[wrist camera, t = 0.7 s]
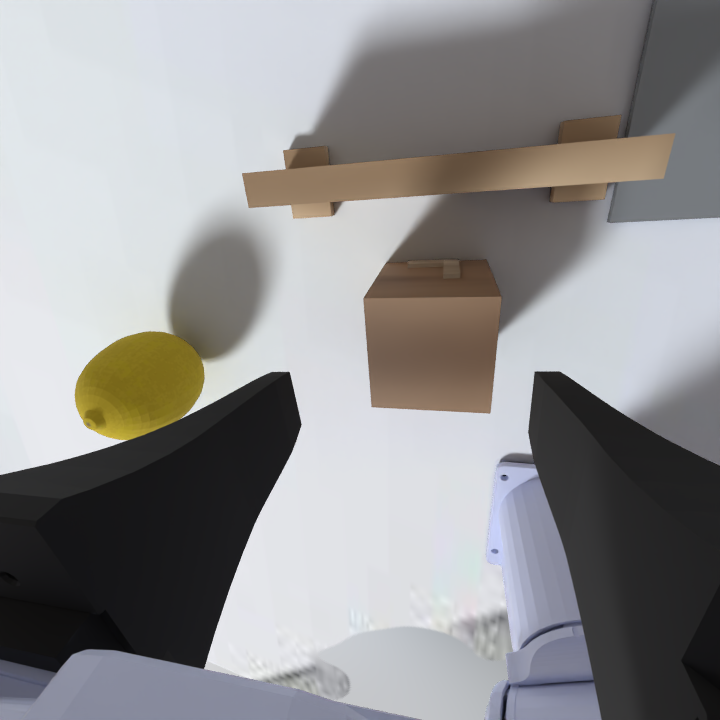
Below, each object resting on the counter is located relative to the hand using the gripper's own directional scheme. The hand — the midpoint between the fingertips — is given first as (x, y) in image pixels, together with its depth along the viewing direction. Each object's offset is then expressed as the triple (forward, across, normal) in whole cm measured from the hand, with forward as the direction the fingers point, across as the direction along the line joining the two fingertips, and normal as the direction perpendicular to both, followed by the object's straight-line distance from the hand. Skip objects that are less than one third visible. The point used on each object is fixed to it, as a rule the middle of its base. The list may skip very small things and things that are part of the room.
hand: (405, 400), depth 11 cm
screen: (+10, -1, -6) cm, 12 cm away
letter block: (+10, -1, +1) cm, 10 cm away
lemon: (+10, +16, +3) cm, 19 cm away
